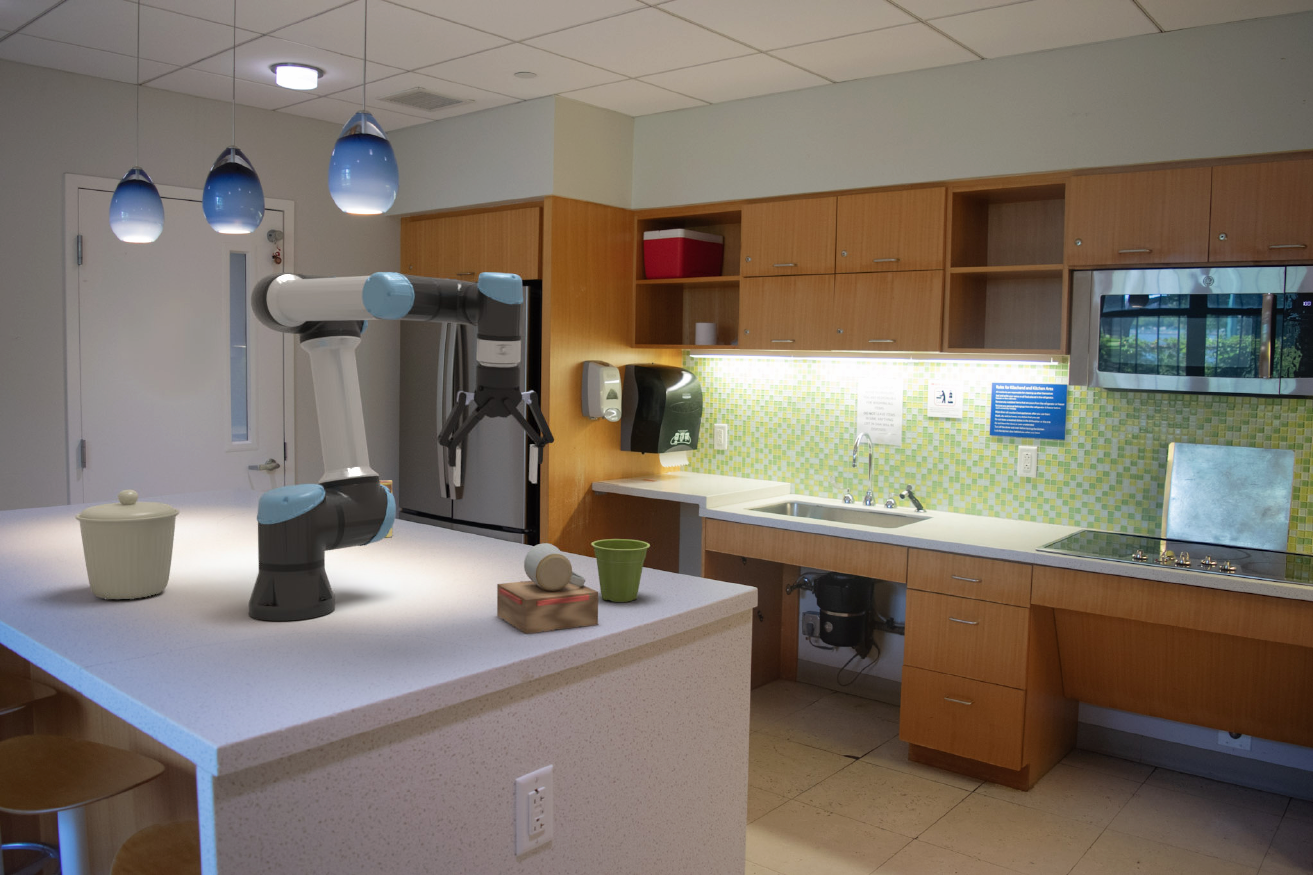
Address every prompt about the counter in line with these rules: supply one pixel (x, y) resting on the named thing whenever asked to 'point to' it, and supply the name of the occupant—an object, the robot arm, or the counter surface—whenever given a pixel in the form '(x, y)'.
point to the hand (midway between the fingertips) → (495, 483)
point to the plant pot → (620, 567)
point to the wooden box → (546, 606)
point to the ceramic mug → (550, 568)
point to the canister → (128, 546)
